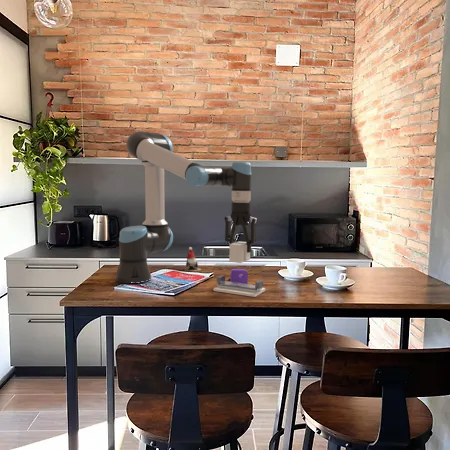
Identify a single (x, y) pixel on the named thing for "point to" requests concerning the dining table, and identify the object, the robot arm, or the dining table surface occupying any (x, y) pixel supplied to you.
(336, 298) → the dining table surface
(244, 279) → the bracket
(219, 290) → the mount plate
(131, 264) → the robot arm
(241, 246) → the block
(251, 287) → the rail
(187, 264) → the figurine
